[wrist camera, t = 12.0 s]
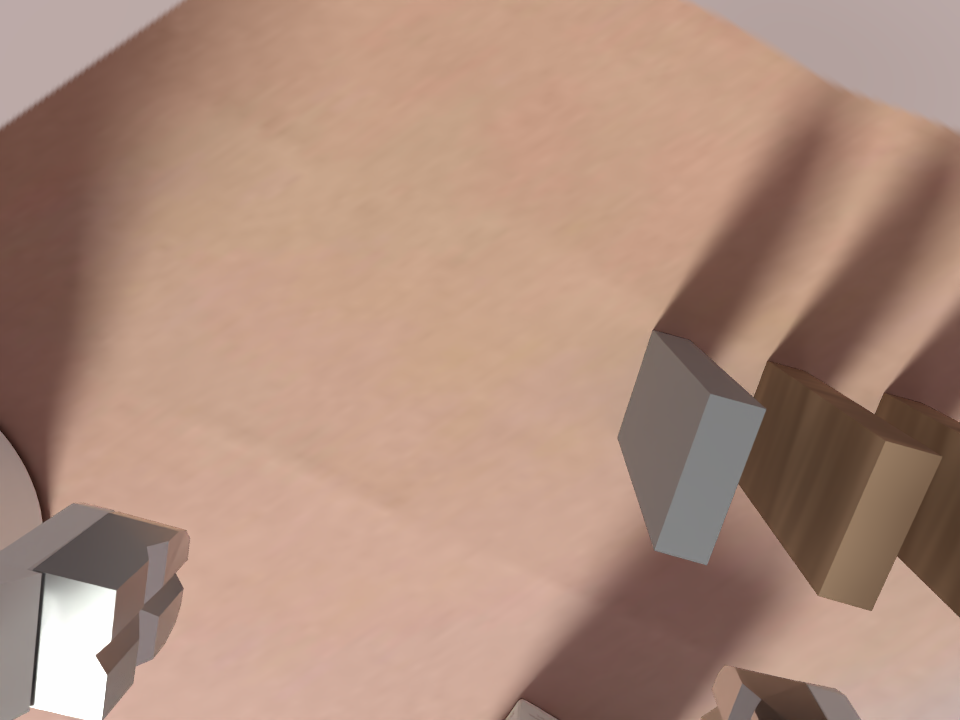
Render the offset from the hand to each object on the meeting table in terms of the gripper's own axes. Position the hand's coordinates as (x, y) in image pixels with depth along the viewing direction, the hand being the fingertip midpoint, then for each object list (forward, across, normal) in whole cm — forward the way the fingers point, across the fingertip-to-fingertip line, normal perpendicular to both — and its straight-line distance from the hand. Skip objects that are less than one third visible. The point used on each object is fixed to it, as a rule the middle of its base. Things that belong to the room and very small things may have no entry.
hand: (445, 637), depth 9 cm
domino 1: (+20, -12, +1) cm, 23 cm away
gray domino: (+20, -7, 0) cm, 21 cm away
